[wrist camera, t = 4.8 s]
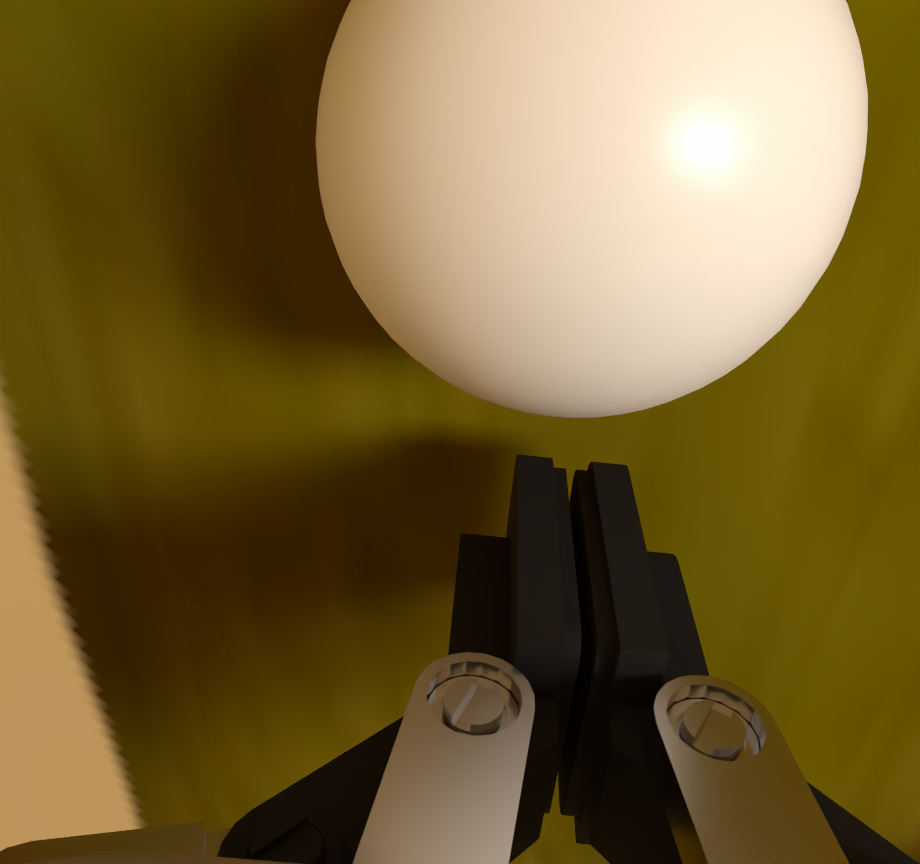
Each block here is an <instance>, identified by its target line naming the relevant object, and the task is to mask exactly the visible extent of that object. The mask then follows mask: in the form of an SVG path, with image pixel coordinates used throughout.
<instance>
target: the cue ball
mask: <svg viewBox="0 0 920 864" xmlns="http://www.w3.org/2000/svg"><path fill="white" fill-rule="evenodd" d="M867 120H868V93H867V86H866V78H865V71H864V64H863V58H862V53H861V49H860V44H859V40H858V37H857V33H856V30H855V27H854V24H853V20H852V17H851V14H850V11H849V8H848V4H847V2H846V0H351V1H350V3H349V5H348V7H347V9H346V11H345V14H344V16H343V18H342V21H341V23H340V25H339V28H338V31H337V33H336V36H335V39H334V42H333V44H332V47H331V50H330V52H329V55H328V58H327V62H326V67H325V72H324V76H323V81H322V86H321V90H320V97H319V104H318V113H317V128H316V156H317V170H318V180H319V189H320V195H321V200H322V205H323V209H324V214H325V219H326V222H327V225H328V228H329V231H330V233H331V236H332V239H333V242H334V245H335V247H336V250H337V253H338V255H339V258H340V261H341V263H342V265H343V267H344V269H345V271H346V273H347V275H348V277H349V279H350V281H351V283H352V285H353V287H354V289H355V290H356V291H357V293H358V294H359V296H360V297H361V299H362V300H363V302H364V303H365V305H366V306H367V308H368V309H369V311H370V312H371V313H372V315H373V316H374V317H375V319H376V320H377V322H378V323H379V324H380V325H381V326H382V327H383V329H384V330H385V331H386V332H387V333H388V334H389V335H390V337H391V338H392V339H393V340H394V341H395V342H396V343H397V344H398V345H399V346H401V347H402V348H403V349H404V350H405V351H406V352H407V353H408V354H409V355H410V356H411V357H413V358H414V359H415V360H417V361H418V362H419V363H421V364H422V365H424V366H425V367H426V368H428V369H429V370H430V371H432V372H433V373H434V374H436V375H437V376H439V377H440V378H442V379H443V380H445V381H447V382H448V383H450V384H452V385H454V386H455V387H457V388H459V389H460V390H463V391H465V392H467V393H469V394H471V395H473V396H475V397H478V398H480V399H482V400H485V401H488V402H491V403H494V404H496V405H499V406H502V407H506V408H510V409H514V410H518V411H522V412H526V413H532V414H538V415H544V416H553V417H568V418H586V417H603V416H612V415H621V414H625V413H630V412H635V411H640V410H644V409H648V408H651V407H654V406H657V405H661V404H664V403H667V402H669V401H672V400H674V399H676V398H679V397H681V396H684V395H686V394H688V393H691V392H693V391H695V390H698V389H700V388H702V387H704V386H706V385H708V384H709V383H711V382H713V381H715V380H717V379H719V378H720V377H722V376H724V375H726V374H727V373H728V372H730V371H731V370H733V369H734V368H736V367H737V366H738V365H740V364H741V363H743V362H744V361H746V360H747V359H748V358H749V357H750V356H752V355H753V354H754V353H755V352H756V351H757V350H758V349H760V348H761V347H762V346H763V345H764V344H765V343H766V342H767V341H769V340H770V339H771V338H772V337H773V336H774V335H775V334H776V333H778V332H779V331H780V330H781V329H782V328H783V327H784V325H785V324H786V323H787V322H788V321H789V320H790V319H791V317H792V316H793V315H794V314H795V313H796V312H797V311H798V309H799V308H800V307H801V306H802V304H803V303H804V301H805V300H806V298H807V297H808V295H809V294H810V292H811V291H812V289H813V288H814V286H815V285H816V283H817V282H818V280H819V279H820V277H821V276H822V275H823V273H824V272H825V270H826V269H827V267H828V265H829V263H830V261H831V259H832V257H833V255H834V253H835V251H836V249H837V247H838V245H839V243H840V241H841V239H842V237H843V234H844V231H845V229H846V226H847V223H848V220H849V217H850V214H851V211H852V208H853V205H854V202H855V199H856V196H857V193H858V190H859V187H860V182H861V176H862V170H863V164H864V159H865V153H866V141H867Z"/></svg>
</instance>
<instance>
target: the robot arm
mask: <svg viewBox="0 0 920 864" xmlns="http://www.w3.org/2000/svg"><path fill="white" fill-rule="evenodd" d="M557 773H558V783H559V803H560V812H561V814H562V815H568V816H574V819H575V834H576V843H581V844H590V845H592V846H593V847H594V848H595V849H596V850H597V851H598V852H599V853H600V854H601V855H602V856H603V857H604V858H605V859H606V860H607V861H608V862H609V863H610V864H919V863H917V862H916V861H914V860H913V859H912V858H910V857H909V856H908V855H906V854H905V853H904V852H902V851H901V850H899V849H898V848H897V847H895V846H894V845H893V844H891V843H890V842H889V841H887V840H886V839H884V838H883V837H882V836H880V835H879V834H878V833H876V832H875V831H873V830H872V829H871V828H869V827H868V826H867V825H865V824H864V823H863V822H861V821H860V820H858V819H857V818H856V817H854V816H853V815H852V814H850V813H849V812H848V811H846V810H845V809H843V808H842V807H841V806H839V805H838V804H837V803H835V802H834V801H833V800H831V799H830V798H828V797H827V796H826V795H824V794H823V793H822V792H820V791H819V790H818V789H816V788H815V787H813V786H812V785H811V784H809V783H808V782H807V781H806V780H805V778H804V776H803V774H802V772H801V770H800V769H799V767H798V765H797V763H796V761H795V759H794V757H793V755H792V753H791V751H790V750H789V748H788V746H787V744H786V742H785V740H784V738H783V736H782V734H781V732H780V730H779V729H778V727H777V725H776V723H775V721H774V719H773V718H772V716H771V715H770V714H769V712H768V711H767V709H766V708H765V707H764V705H763V704H762V703H760V702H759V701H758V700H757V699H756V698H755V697H753V696H752V695H751V694H750V693H749V692H747V691H745V690H744V689H742V688H740V687H738V686H736V685H735V684H733V683H731V682H728V681H725V680H722V679H719V678H715V677H711V676H709V673H708V669H707V666H706V662H705V658H704V655H703V651H702V647H701V644H700V640H699V636H698V633H697V629H696V625H695V622H694V618H693V614H692V611H691V607H690V603H689V600H688V596H687V592H686V589H685V585H684V581H683V578H682V574H681V571H680V567H679V563H678V561H677V558H676V556H674V555H673V554H667V553H657V552H647V550H646V546H645V541H644V537H643V532H642V528H641V523H640V519H639V514H638V510H637V505H636V501H635V497H634V492H633V488H632V483H631V479H630V474H629V470H628V467H627V466H626V465H619V464H609V463H599V462H590V464H589V466H588V470H587V471H584V470H576V471H575V474H574V478H573V484H572V490H571V496H570V502H569V497H568V487H567V477H566V469H564V468H553V459H552V458H547V457H536V456H526V455H517V457H516V462H515V469H514V477H513V485H512V493H511V501H510V509H509V517H508V524H507V532H506V538H503V537H493V536H483V535H473V534H462V533H461V535H460V545H459V554H458V564H457V574H456V584H455V594H454V604H453V614H452V624H451V634H450V643H449V653H448V656H446V657H443V658H441V659H438V660H436V661H434V662H433V663H432V664H431V665H429V666H428V667H427V668H426V669H425V670H423V671H422V673H421V675H420V677H419V678H418V680H417V682H416V683H415V686H414V689H413V692H412V695H411V698H410V700H409V703H408V706H407V709H406V712H405V715H404V716H403V717H402V718H400V719H398V720H397V721H395V722H394V723H392V724H390V725H389V726H387V727H385V728H384V729H382V730H381V731H379V732H377V733H376V734H374V735H372V736H371V737H369V738H368V739H366V740H364V741H363V742H361V743H360V744H358V745H356V746H355V747H353V748H351V749H350V750H348V751H347V752H345V753H343V754H342V755H340V756H338V757H337V758H335V759H334V760H332V761H330V762H329V763H327V764H325V765H324V766H322V767H321V768H319V769H317V770H316V771H314V772H312V773H311V774H309V775H308V776H306V777H304V778H303V779H301V780H299V781H298V782H296V783H295V784H293V785H291V786H290V787H288V788H287V789H285V790H283V791H282V792H280V793H278V794H277V795H275V796H274V797H272V798H270V799H269V800H267V801H265V802H264V803H262V804H261V805H259V806H257V807H256V808H254V809H252V810H251V811H250V812H249V813H247V814H246V815H245V816H244V817H242V818H241V819H240V820H239V821H238V822H236V823H235V824H234V826H233V827H232V828H230V829H222V830H213V831H205V828H204V822H197V823H188V824H179V825H171V826H162V827H153V828H144V829H135V830H126V831H117V832H109V833H100V834H91V835H82V836H73V837H64V838H56V839H46V840H37V841H31V842H27V843H23V844H19V845H16V846H12V847H8V848H6V849H4V850H2V851H0V864H509V863H510V862H511V861H513V860H514V859H515V858H516V857H517V856H519V855H520V854H521V853H522V852H523V851H525V850H526V849H527V848H528V847H529V846H531V845H532V844H533V843H534V842H535V841H537V840H538V839H539V836H540V831H541V826H542V821H543V816H544V813H549V812H550V808H551V803H552V798H553V793H554V788H555V783H556V778H557Z"/></svg>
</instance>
